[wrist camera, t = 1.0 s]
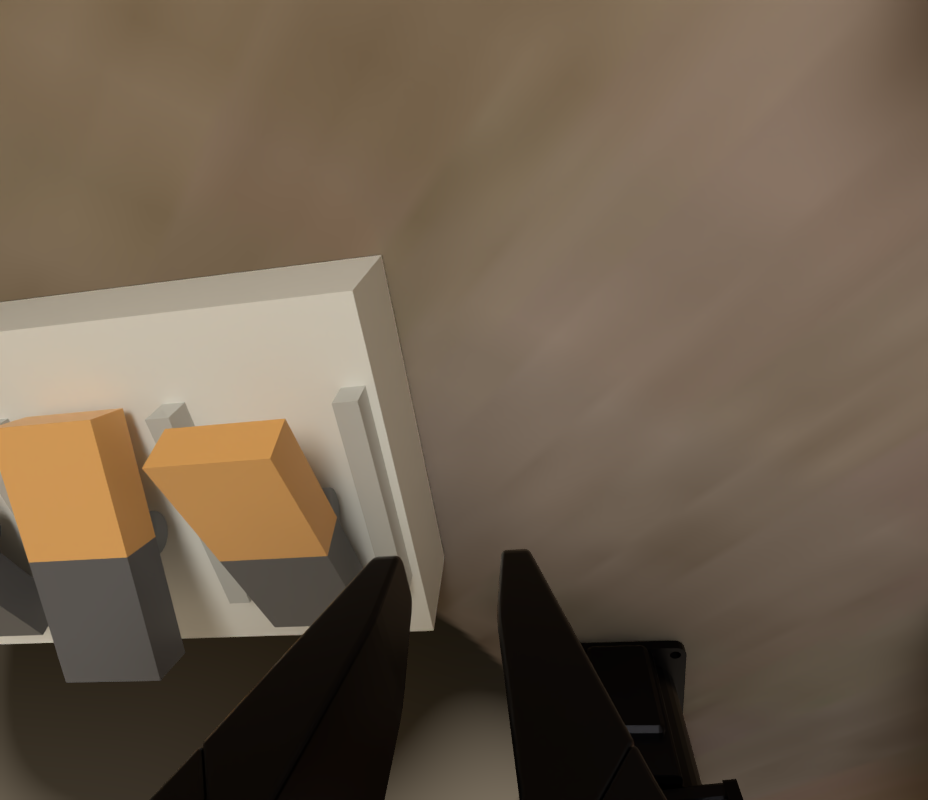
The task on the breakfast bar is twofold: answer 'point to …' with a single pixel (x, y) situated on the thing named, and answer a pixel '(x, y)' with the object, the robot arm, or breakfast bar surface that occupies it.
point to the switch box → (240, 408)
